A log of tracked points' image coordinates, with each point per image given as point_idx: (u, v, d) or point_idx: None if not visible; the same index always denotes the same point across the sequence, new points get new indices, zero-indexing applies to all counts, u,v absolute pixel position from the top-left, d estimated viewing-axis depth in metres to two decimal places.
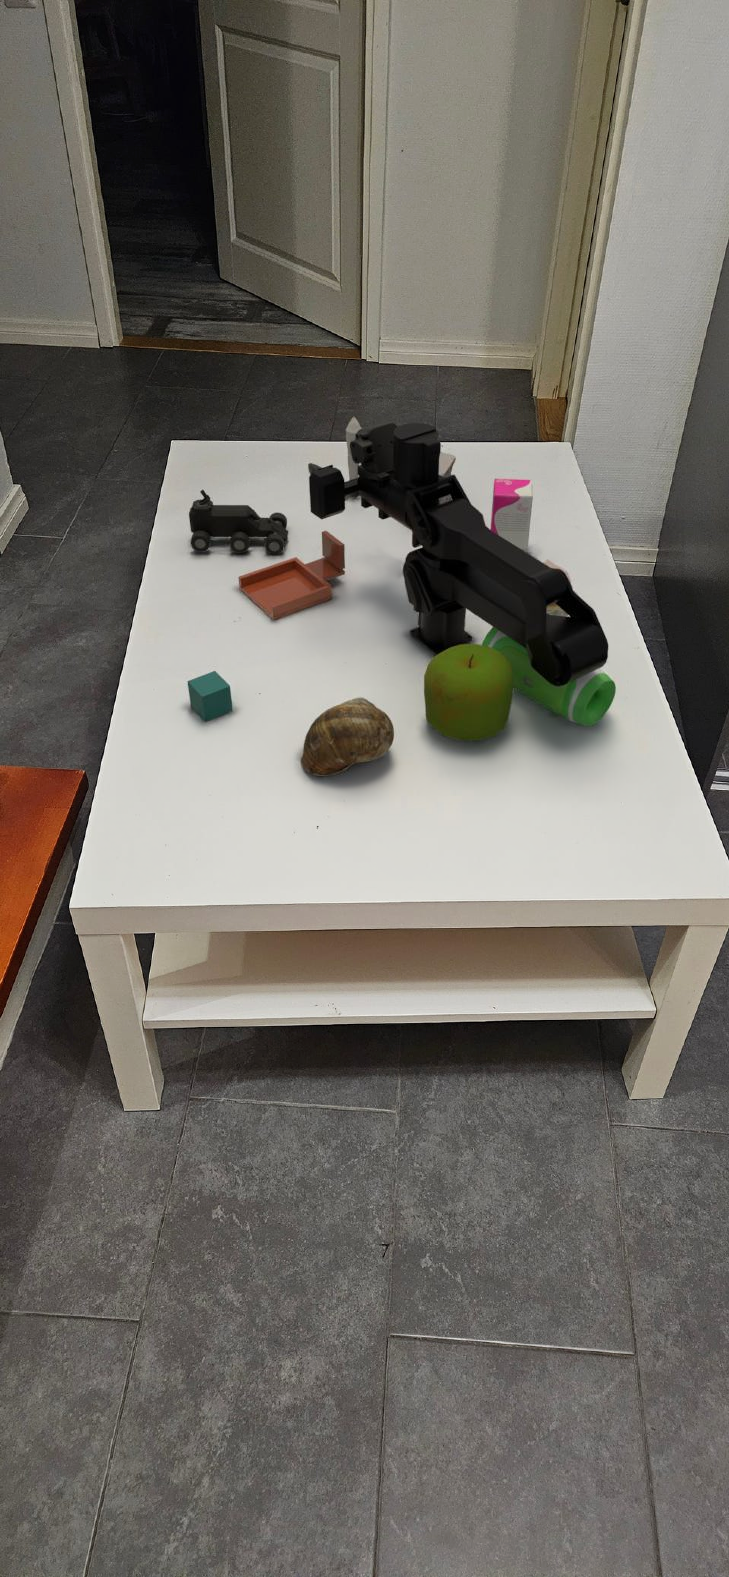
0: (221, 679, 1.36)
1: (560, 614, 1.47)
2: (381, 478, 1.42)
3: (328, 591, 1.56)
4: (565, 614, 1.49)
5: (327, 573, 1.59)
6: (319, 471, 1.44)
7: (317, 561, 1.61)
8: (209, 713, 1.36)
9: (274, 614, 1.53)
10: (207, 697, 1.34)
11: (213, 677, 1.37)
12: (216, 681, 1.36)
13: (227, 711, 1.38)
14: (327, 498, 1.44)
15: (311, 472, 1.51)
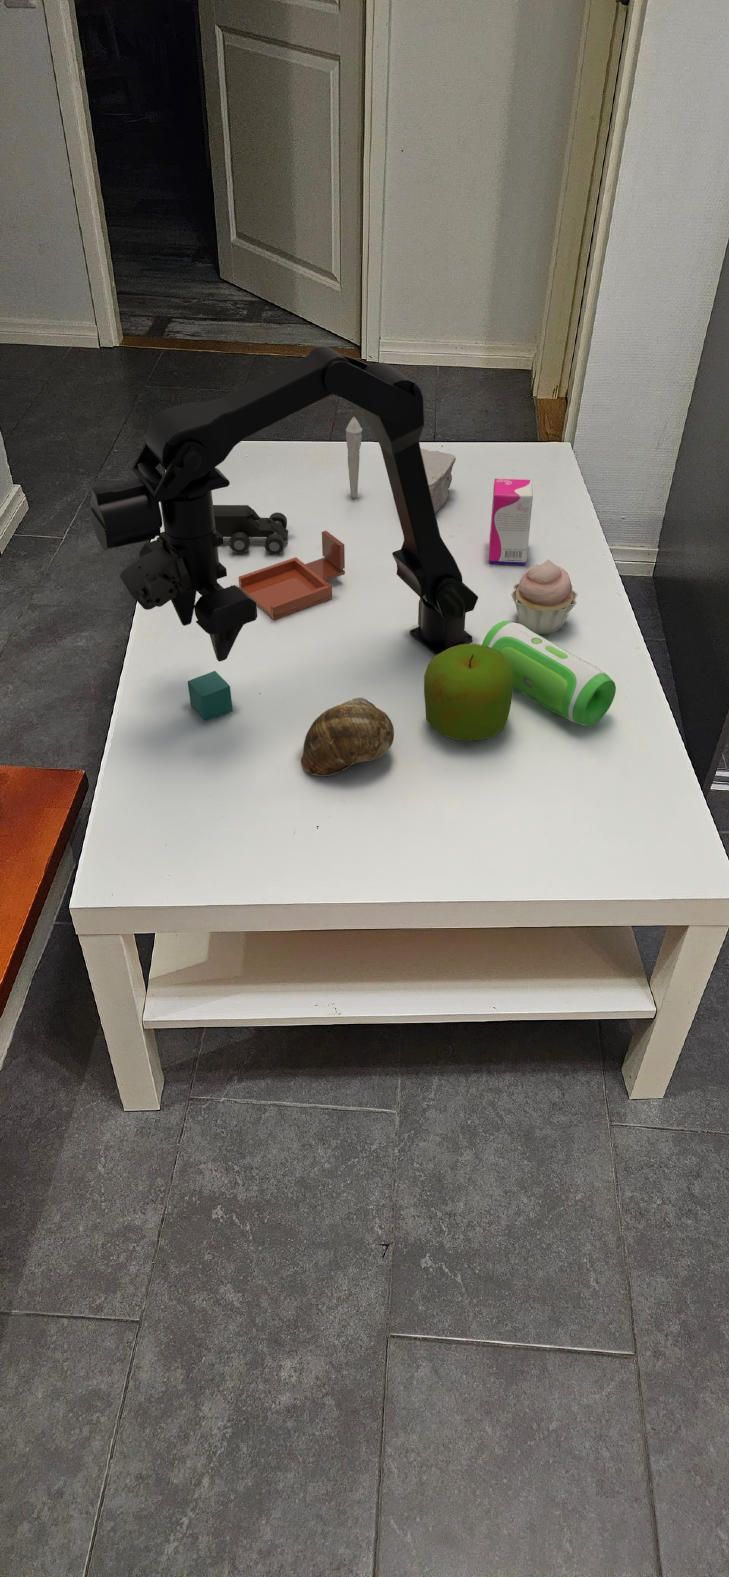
0: (221, 679, 1.36)
1: (560, 614, 1.47)
2: (176, 554, 1.19)
3: (328, 591, 1.56)
4: (565, 614, 1.49)
5: (327, 573, 1.59)
6: (205, 626, 1.20)
7: (317, 561, 1.61)
8: (209, 713, 1.36)
9: (274, 614, 1.53)
10: (207, 697, 1.34)
11: (213, 677, 1.37)
12: (216, 681, 1.36)
13: (227, 711, 1.38)
14: (227, 602, 1.20)
15: (224, 651, 1.27)
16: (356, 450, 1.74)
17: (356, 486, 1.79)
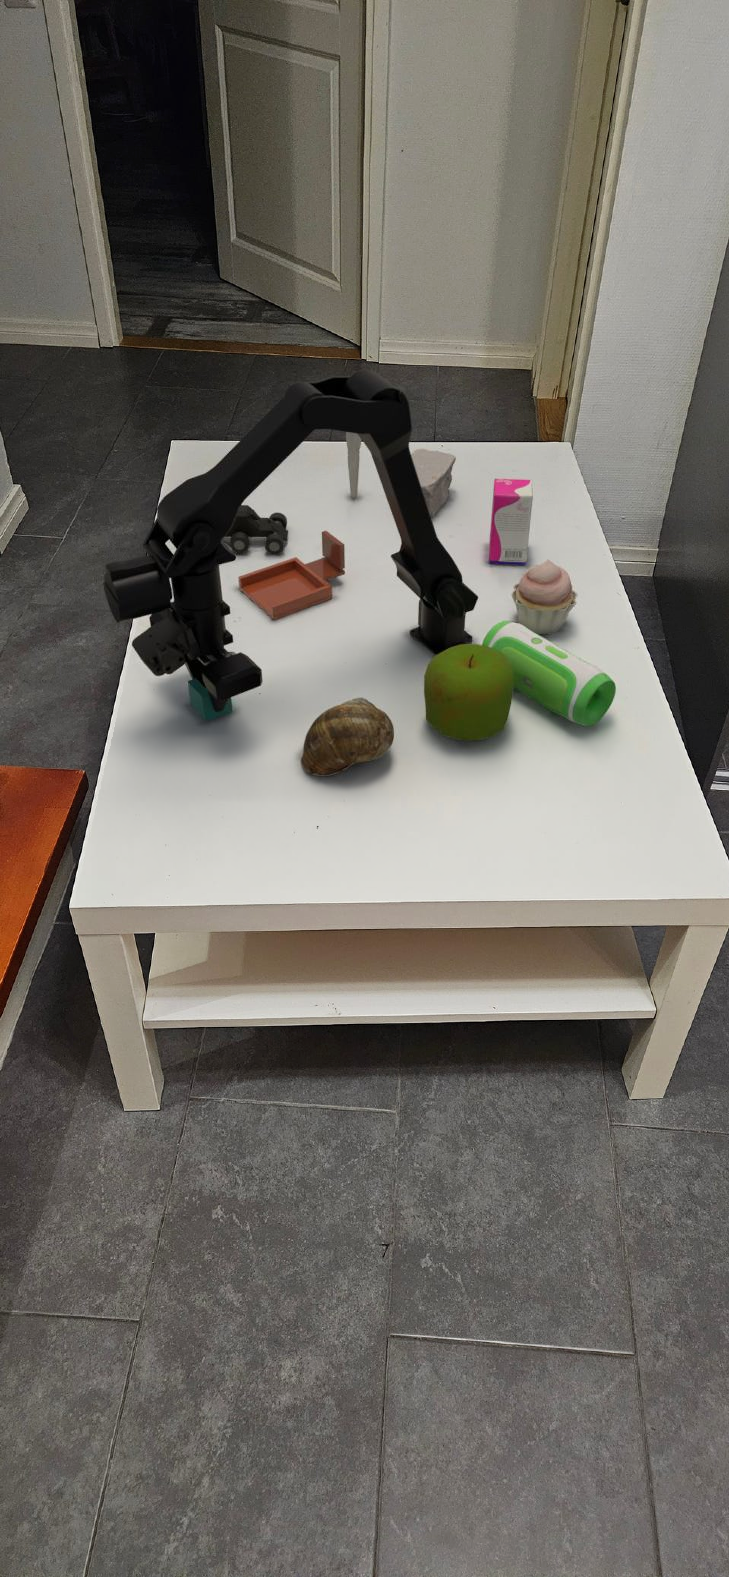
0: None
1: (560, 614, 1.47)
2: (186, 624, 1.26)
3: (328, 591, 1.56)
4: (565, 614, 1.49)
5: (327, 573, 1.59)
6: (212, 693, 1.26)
7: (317, 561, 1.61)
8: (209, 713, 1.36)
9: (274, 614, 1.53)
10: (207, 697, 1.34)
11: None
12: None
13: (227, 711, 1.38)
14: (234, 670, 1.26)
15: (221, 703, 1.35)
16: (356, 450, 1.74)
17: (356, 486, 1.79)
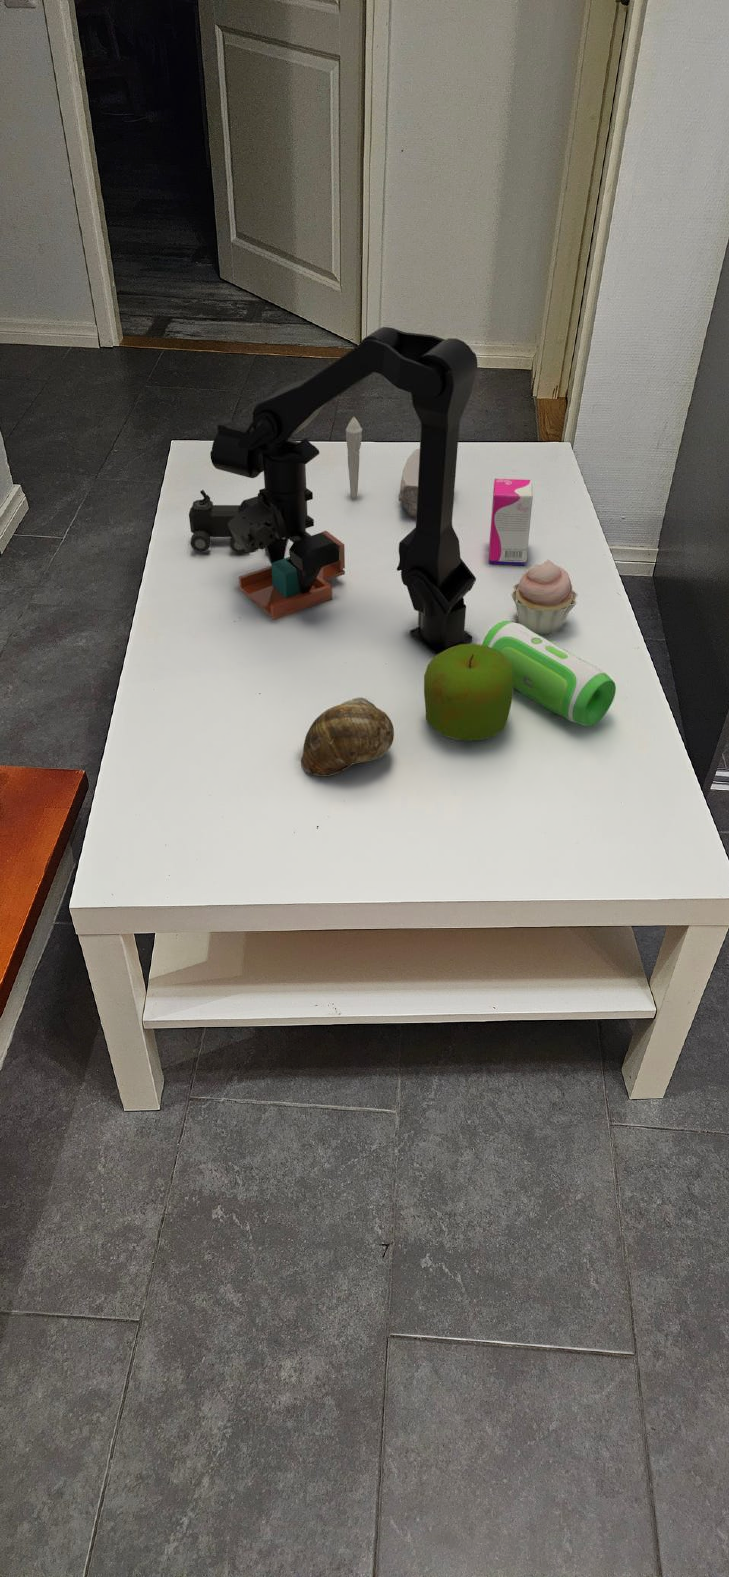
0: None
1: (560, 614, 1.47)
2: (276, 506, 1.46)
3: (328, 591, 1.56)
4: (565, 614, 1.49)
5: (327, 573, 1.59)
6: (298, 566, 1.47)
7: None
8: (290, 591, 1.56)
9: (274, 614, 1.53)
10: (289, 575, 1.54)
11: None
12: None
13: None
14: (317, 546, 1.46)
15: (307, 587, 1.54)
16: (356, 450, 1.74)
17: (356, 486, 1.79)
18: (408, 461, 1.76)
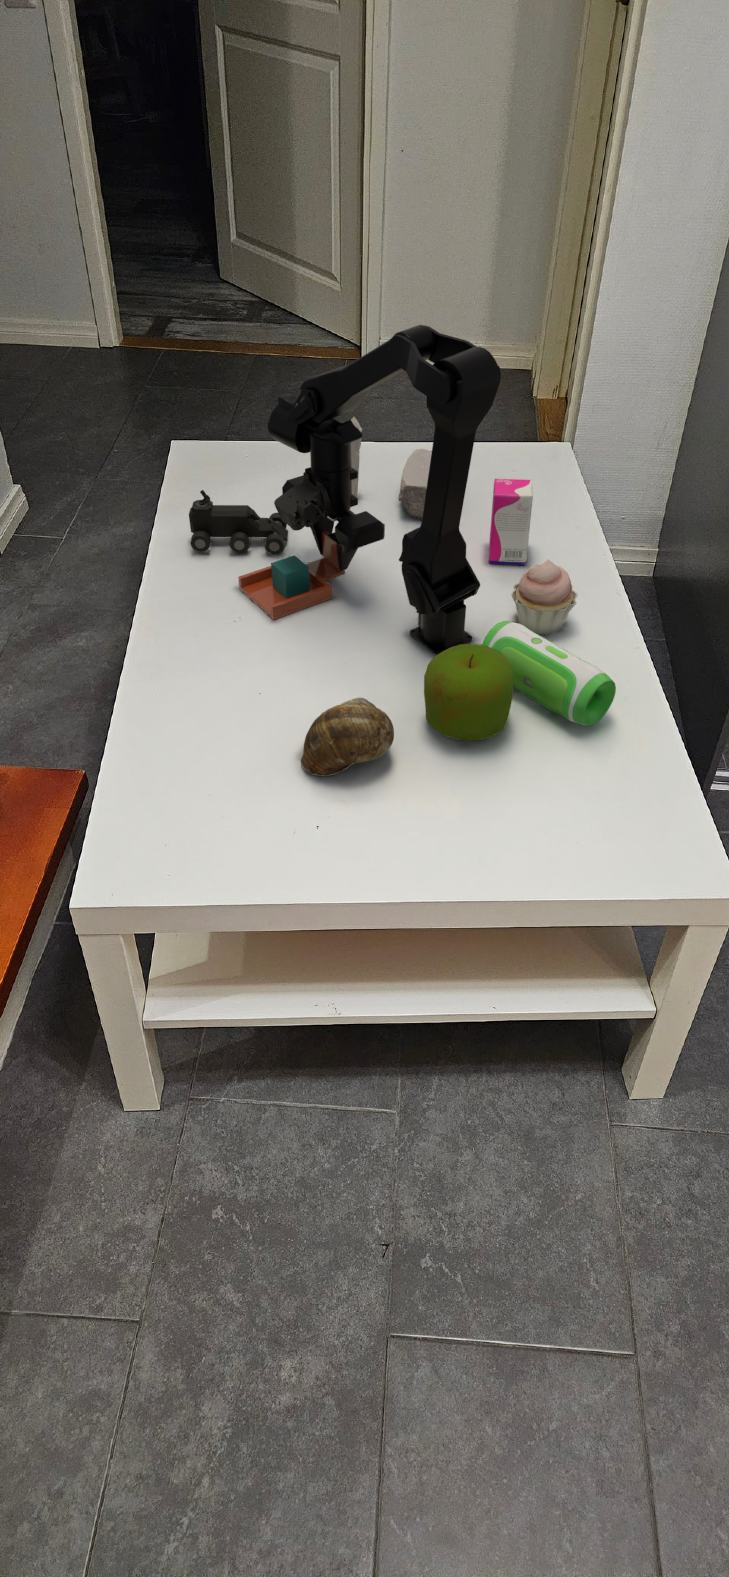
0: (300, 561, 1.56)
1: (560, 614, 1.47)
2: (322, 484, 1.48)
3: (328, 591, 1.56)
4: (565, 614, 1.49)
5: (327, 573, 1.59)
6: (344, 543, 1.49)
7: (317, 561, 1.61)
8: (290, 591, 1.56)
9: (274, 614, 1.53)
10: (289, 575, 1.54)
11: (293, 560, 1.57)
12: (296, 563, 1.56)
13: (305, 590, 1.58)
14: (363, 524, 1.48)
15: (346, 562, 1.57)
16: (356, 450, 1.74)
17: (356, 486, 1.79)
18: (408, 461, 1.76)
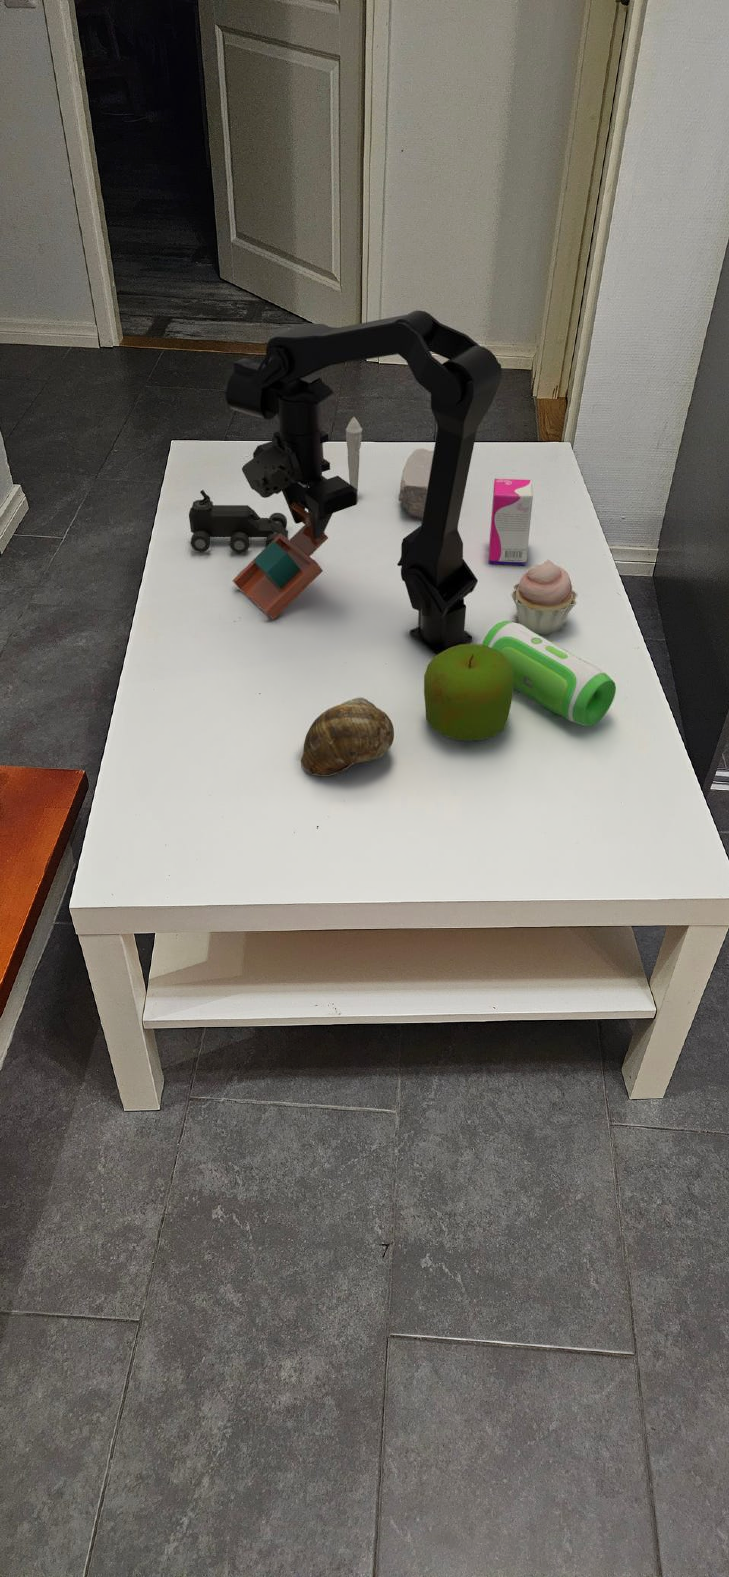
0: (279, 548, 1.53)
1: (560, 614, 1.47)
2: (290, 449, 1.42)
3: (315, 568, 1.52)
4: (565, 614, 1.49)
5: (310, 545, 1.54)
6: (315, 510, 1.43)
7: (300, 532, 1.56)
8: (280, 581, 1.54)
9: (271, 615, 1.53)
10: (271, 570, 1.52)
11: (272, 548, 1.53)
12: (275, 552, 1.53)
13: (295, 572, 1.55)
14: (333, 489, 1.42)
15: (320, 530, 1.51)
16: (356, 450, 1.74)
17: (356, 486, 1.79)
18: (408, 461, 1.76)
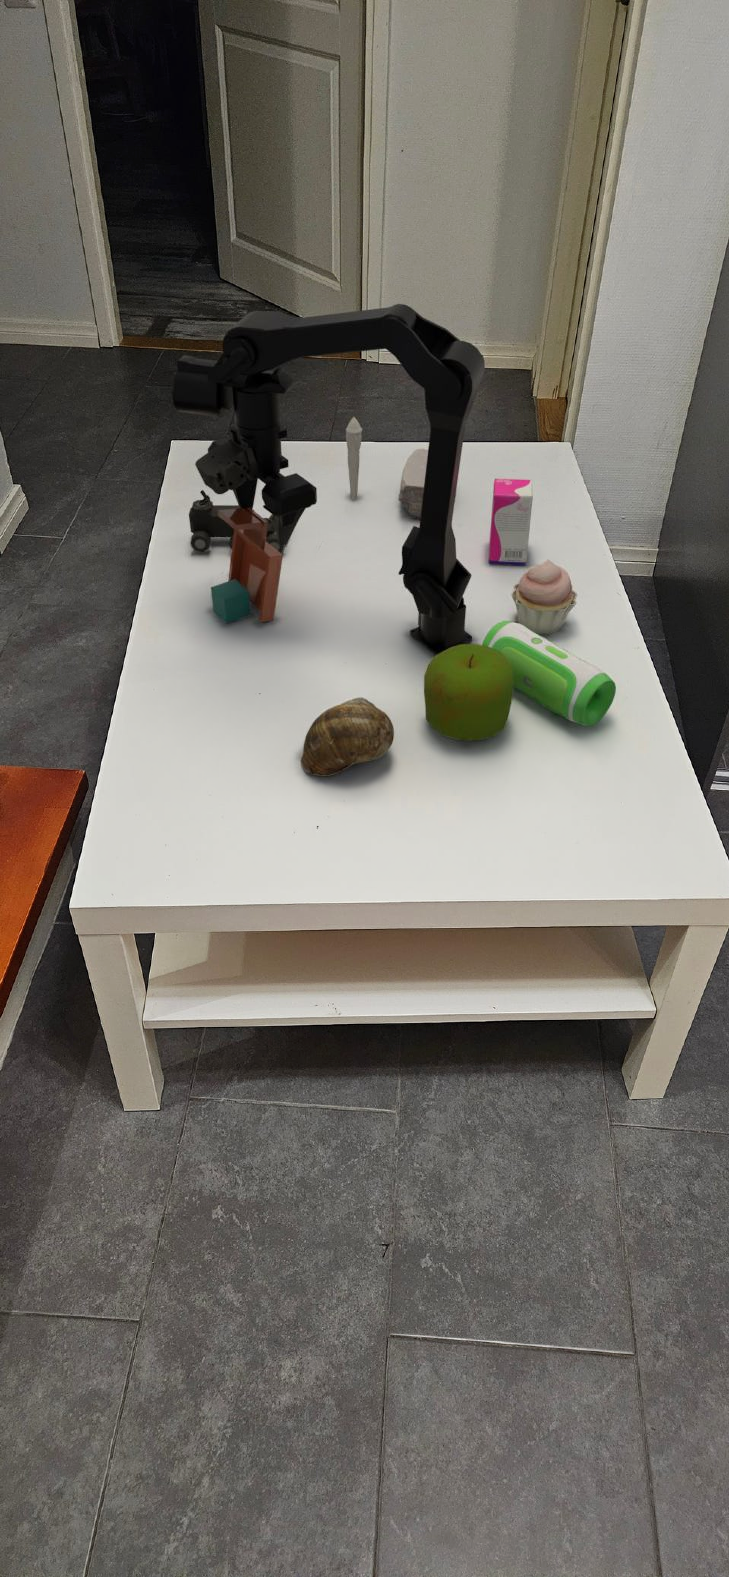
0: None
1: (560, 614, 1.47)
2: (247, 443, 1.35)
3: (273, 560, 1.47)
4: (565, 614, 1.49)
5: (258, 537, 1.48)
6: (271, 508, 1.36)
7: None
8: (245, 599, 1.52)
9: (268, 619, 1.53)
10: (246, 614, 1.54)
11: None
12: None
13: (229, 600, 1.50)
14: (291, 486, 1.35)
15: (285, 537, 1.43)
16: (356, 450, 1.74)
17: (356, 486, 1.79)
18: (408, 461, 1.76)
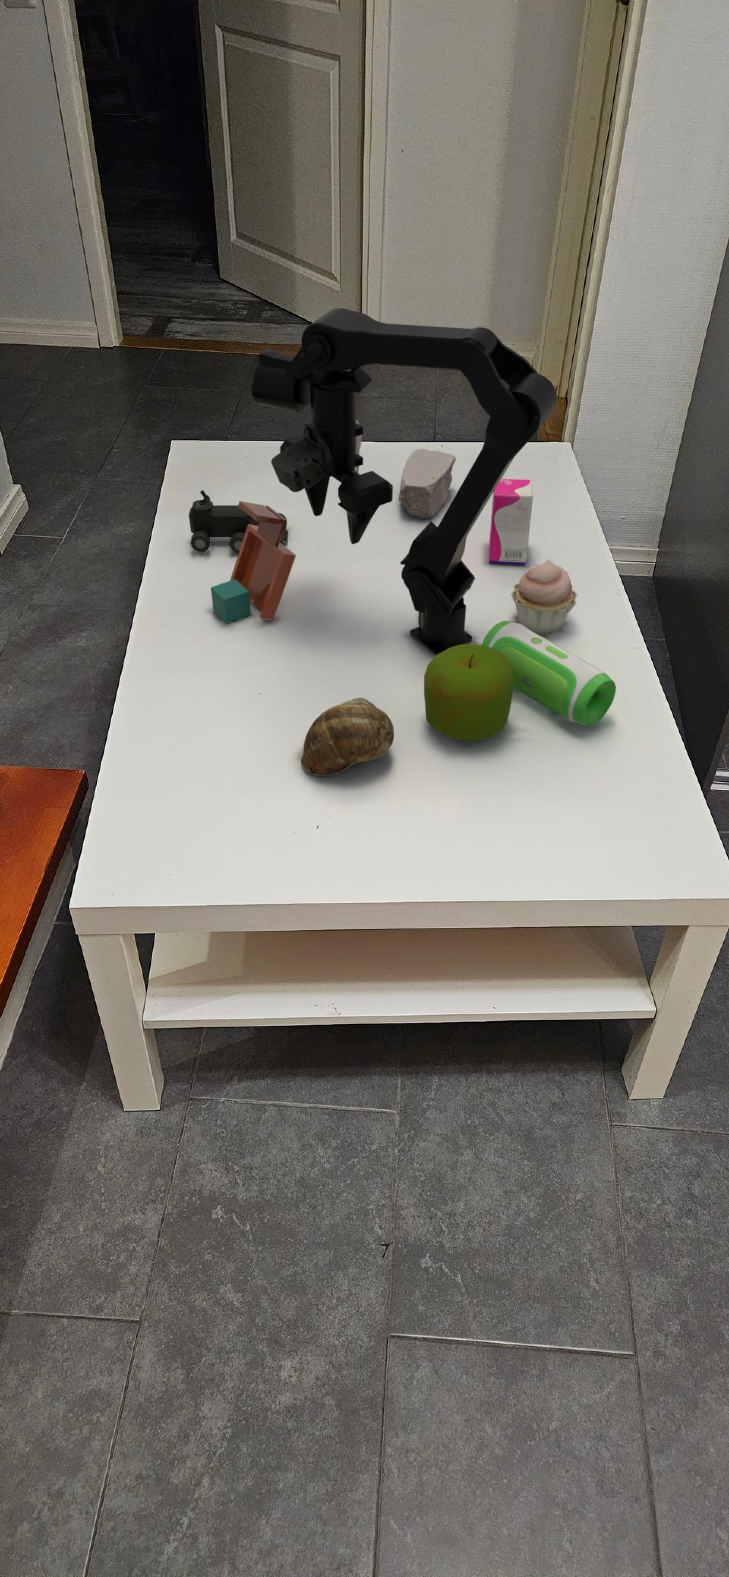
0: None
1: (560, 614, 1.47)
2: (324, 441, 1.34)
3: (286, 558, 1.48)
4: (565, 614, 1.49)
5: (274, 534, 1.49)
6: (348, 506, 1.35)
7: None
8: (245, 599, 1.52)
9: (269, 618, 1.53)
10: (246, 614, 1.54)
11: None
12: None
13: (229, 600, 1.50)
14: (369, 484, 1.35)
15: (358, 534, 1.42)
16: None
17: None
18: (408, 461, 1.76)
